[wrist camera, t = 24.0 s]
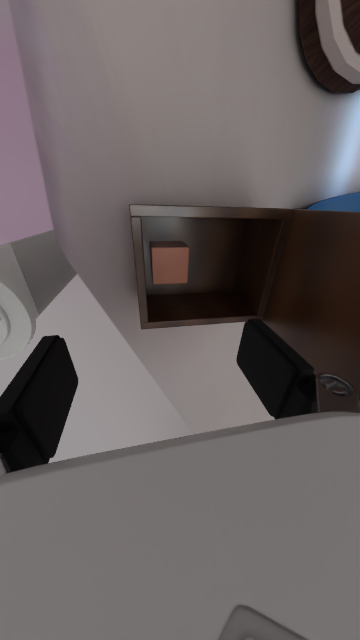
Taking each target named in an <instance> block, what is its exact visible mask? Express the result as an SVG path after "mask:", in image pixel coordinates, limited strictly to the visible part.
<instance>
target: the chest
mask: <svg viewBox="0 0 360 640" xmlns="http://www.w3.org/2000/svg"><path fill="white" fill-rule="evenodd" d="M129 207H130V216H131V228H132V238H133V248H134V259H135V269H136V280H137V290H138V301H139V311H140V322H141V329H152V328H166V327H179V326H193V325H207V324H220V323H234V322H247V321H248V320H249V319H257V318H259V319H261V320H262V318H263V315H264V311H265V308H266V304H267V301H268V297H269V294H270V290H271V287H272V283H273V280H274V276H275V273H276V269H277V266H278V262H279V259H280V255H281V252H282V248H283V245H284V241H285V238H286V234H287V231H288V227H289V224H290V219H291V217H292V213H293V210H294V209H278V208H248V207H212V206H177V205H141V204H130V205H129ZM150 241H182V242H184V243H185V244H186V245H187V246H188V247H189V259H188V280H187V283H173V284H153V280H152V273H151V254H150Z"/></svg>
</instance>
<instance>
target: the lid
mask: <svg viewBox="0 0 360 640" xmlns="http://www.w3.org/2000/svg"><path fill="white" fill-rule="evenodd" d="M262 321H263V322H264V323H265V324H266V325H267V326H269V327H270V328H271V329H272V330H273V331H274V332H275V333H276V334H277V335H278V336H279V337H281V338H282V339H283V340H284V341H285V342H286V343H287V344H288V345H289V346H290V347H292V348H293V349H294V350H295V351H296V352H297V353H298V354H299V355H300V356H301V357H302V358H304V359H305V360H306V361H307V362H308V363H309V364H310V365H311V366H312V367H313V368H314V369H315V370H314V372H313V373H314V374H315V375H317V374H318V373H322V372H325V373H331V374H335V375H337V376H340V377H342V378H343V379H345V380H347V381H348V382H349V383H351V384H352V385H353V387H354V388H355V389H356V391H357V393H358V396H359V397H360V212H358V211H333V210H307V209H294V210H293V213H292V217H291V220H290V224H289V227H288V231H287V234H286V238H285V241H284V245H283V248H282V252H281V255H280V259H279V262H278V266H277V269H276V273H275V276H274V280H273V283H272V287H271V290H270V294H269V297H268V301H267V304H266V308H265V311H264V315H263V318H262Z"/></svg>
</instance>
